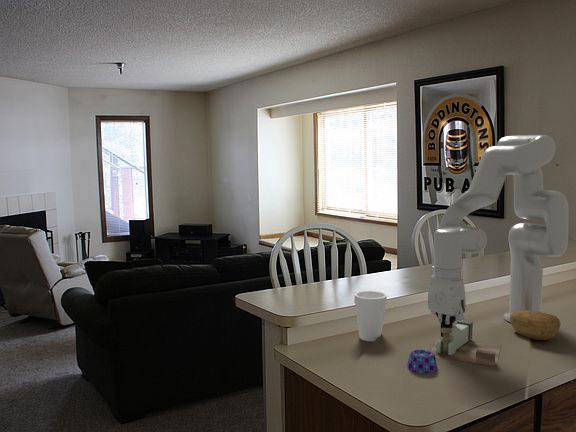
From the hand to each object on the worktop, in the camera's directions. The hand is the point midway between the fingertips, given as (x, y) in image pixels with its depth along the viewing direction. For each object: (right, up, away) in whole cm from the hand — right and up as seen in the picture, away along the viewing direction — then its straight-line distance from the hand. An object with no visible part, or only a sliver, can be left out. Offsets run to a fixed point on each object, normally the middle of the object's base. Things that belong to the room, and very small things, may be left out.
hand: (446, 336), depth 160 cm
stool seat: (+3, -3, -8) cm, 9 cm away
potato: (+27, -2, +5) cm, 27 cm away
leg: (+1, -1, -5) cm, 5 cm away
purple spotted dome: (-12, -5, -19) cm, 23 cm away
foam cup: (-21, -2, +7) cm, 22 cm away
